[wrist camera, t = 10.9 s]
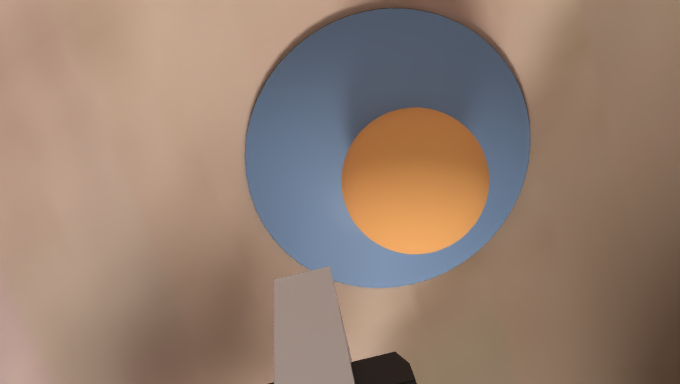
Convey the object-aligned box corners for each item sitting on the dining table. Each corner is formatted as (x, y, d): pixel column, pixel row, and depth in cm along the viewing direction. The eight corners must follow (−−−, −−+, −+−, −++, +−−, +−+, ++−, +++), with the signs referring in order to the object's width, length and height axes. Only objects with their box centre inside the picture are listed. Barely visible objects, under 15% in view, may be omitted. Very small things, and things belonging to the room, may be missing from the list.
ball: (306, 142, 20) (364, 83, 25) (328, 272, 23) (377, 198, 27) (470, 154, 18) (502, 87, 22) (472, 295, 21) (500, 212, 25)
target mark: (514, -22, 23) (516, -22, 23) (539, 250, 28) (541, 252, 27) (209, 45, 23) (209, 46, 23) (283, 313, 27) (283, 315, 27)
